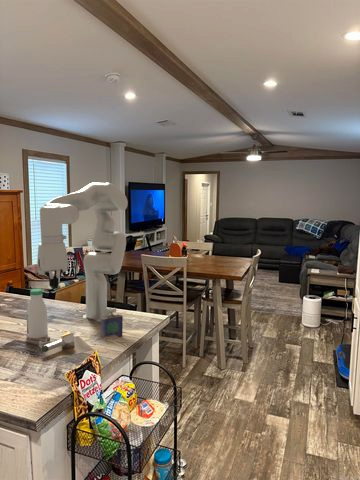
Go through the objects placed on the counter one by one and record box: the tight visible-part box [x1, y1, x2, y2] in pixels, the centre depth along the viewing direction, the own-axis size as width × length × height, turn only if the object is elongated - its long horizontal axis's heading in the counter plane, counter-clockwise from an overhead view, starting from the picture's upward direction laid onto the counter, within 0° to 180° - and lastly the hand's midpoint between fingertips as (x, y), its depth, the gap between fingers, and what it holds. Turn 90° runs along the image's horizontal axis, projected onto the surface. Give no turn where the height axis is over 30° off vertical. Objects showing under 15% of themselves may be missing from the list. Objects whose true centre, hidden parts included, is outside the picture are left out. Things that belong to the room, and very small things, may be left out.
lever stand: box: [36, 335, 94, 362], centre depth 133 cm, size 16×15×5 cm
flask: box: [100, 312, 124, 338], centre depth 147 cm, size 9×3×11 cm, turn 121°
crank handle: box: [40, 332, 75, 353], centre depth 130 cm, size 13×4×5 cm, turn 144°
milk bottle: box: [26, 288, 49, 339], centre depth 144 cm, size 8×8×20 cm
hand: (54, 287), depth 135 cm, fingers closed
